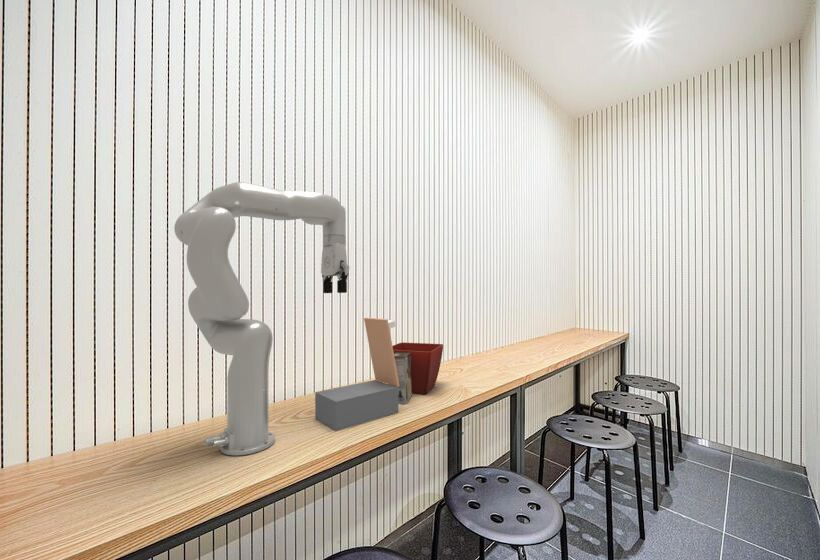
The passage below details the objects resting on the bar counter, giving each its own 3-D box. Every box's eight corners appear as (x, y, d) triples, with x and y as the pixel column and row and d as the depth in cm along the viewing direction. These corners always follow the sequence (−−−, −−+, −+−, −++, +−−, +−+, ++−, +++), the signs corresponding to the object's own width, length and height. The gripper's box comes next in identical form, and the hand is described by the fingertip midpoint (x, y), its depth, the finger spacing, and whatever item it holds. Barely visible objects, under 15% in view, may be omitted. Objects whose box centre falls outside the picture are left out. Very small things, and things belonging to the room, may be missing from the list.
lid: (385, 319, 110) (399, 315, 114) (363, 318, 120) (377, 313, 123) (397, 386, 112) (411, 380, 116) (375, 380, 122) (388, 373, 125)
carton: (336, 431, 97) (336, 401, 98) (315, 418, 107) (315, 392, 108) (398, 412, 112) (398, 387, 112) (374, 403, 121) (374, 379, 122)
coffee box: (395, 395, 130) (394, 352, 131) (412, 396, 129) (411, 352, 130) (388, 403, 121) (388, 356, 122) (406, 404, 120) (406, 356, 121)
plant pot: (431, 398, 127) (430, 351, 127) (383, 393, 133) (382, 349, 134) (444, 385, 144) (444, 343, 145) (401, 381, 151) (400, 342, 152)
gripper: (312, 244, 122) (312, 293, 122) (337, 237, 109) (337, 292, 109) (332, 245, 127) (332, 293, 127) (357, 239, 114) (358, 292, 113)
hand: (334, 292), depth 118 cm, fingers open, 9 cm apart
